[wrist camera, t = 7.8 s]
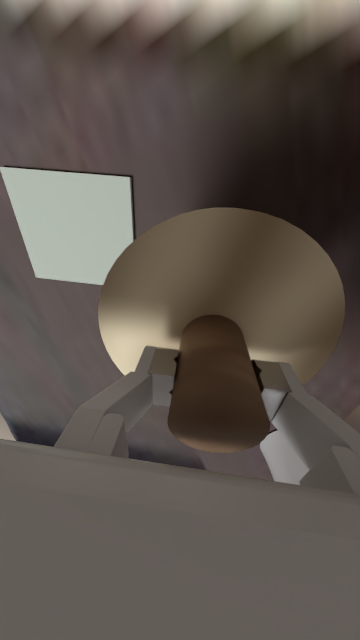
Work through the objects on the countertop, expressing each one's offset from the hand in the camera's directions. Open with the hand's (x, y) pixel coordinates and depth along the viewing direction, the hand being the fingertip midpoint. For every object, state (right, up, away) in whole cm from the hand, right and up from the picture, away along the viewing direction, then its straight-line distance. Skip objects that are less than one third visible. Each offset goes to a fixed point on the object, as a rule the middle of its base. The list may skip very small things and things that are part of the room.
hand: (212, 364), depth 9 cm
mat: (-14, +12, +15) cm, 24 cm away
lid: (0, +1, +2) cm, 3 cm away
